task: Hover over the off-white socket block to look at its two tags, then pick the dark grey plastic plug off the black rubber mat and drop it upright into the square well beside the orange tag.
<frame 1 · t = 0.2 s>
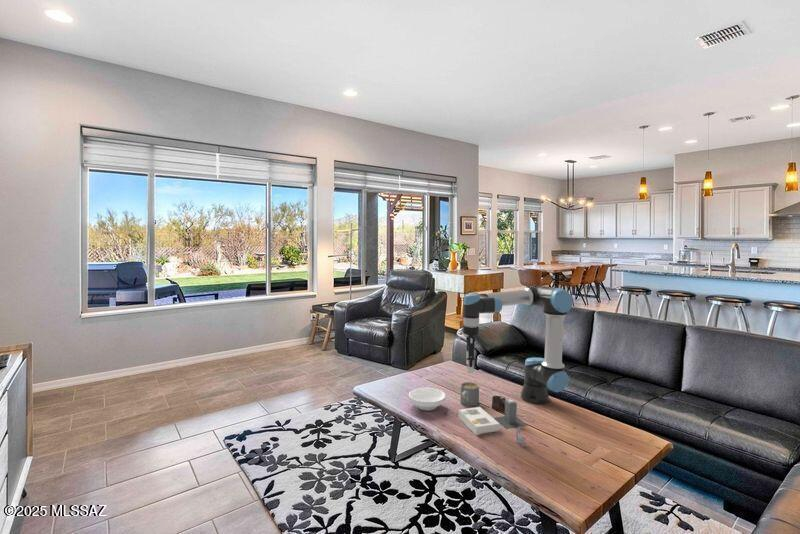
hand: (469, 368, 194), 27 cm above the table, fingers open, 13 cm apart
bowl: (426, 407, 212), on the table
socket block: (478, 424, 193), on the table
plug: (510, 421, 195), point 1 cm above the table, touching mat
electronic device: (501, 411, 208), on the table
architectural model: (530, 443, 177), on the table
coffee mug: (467, 404, 216), on the table
mat: (510, 422, 195), on the table
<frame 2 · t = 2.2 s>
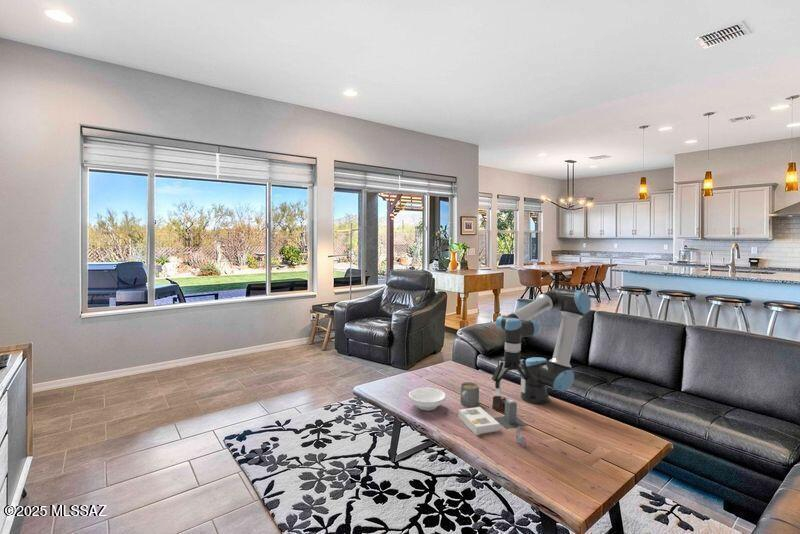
hand: (510, 393, 193), 15 cm above the table, fingers open, 13 cm apart
nothing on the table moved.
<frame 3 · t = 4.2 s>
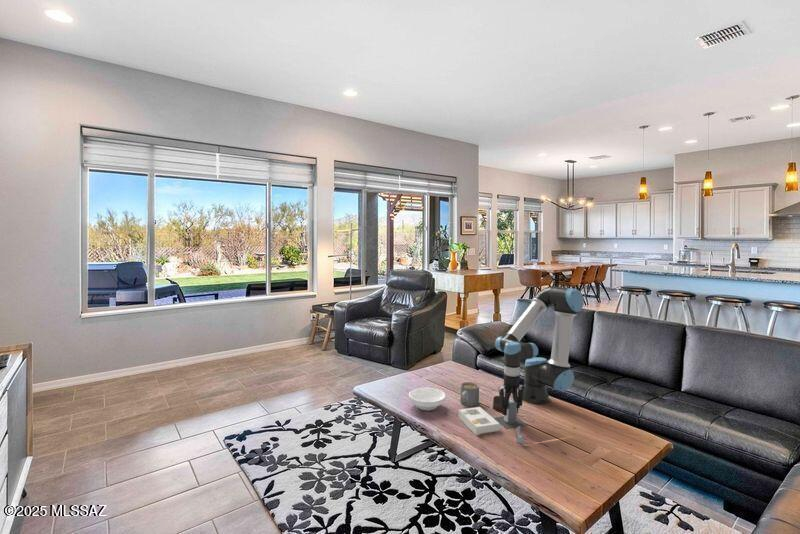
hand: (510, 420, 195), 1 cm above the table, fingers closed on plug, 4 cm apart
plug: (510, 421, 195), point 1 cm above the table, touching gripper
everything else where it was.
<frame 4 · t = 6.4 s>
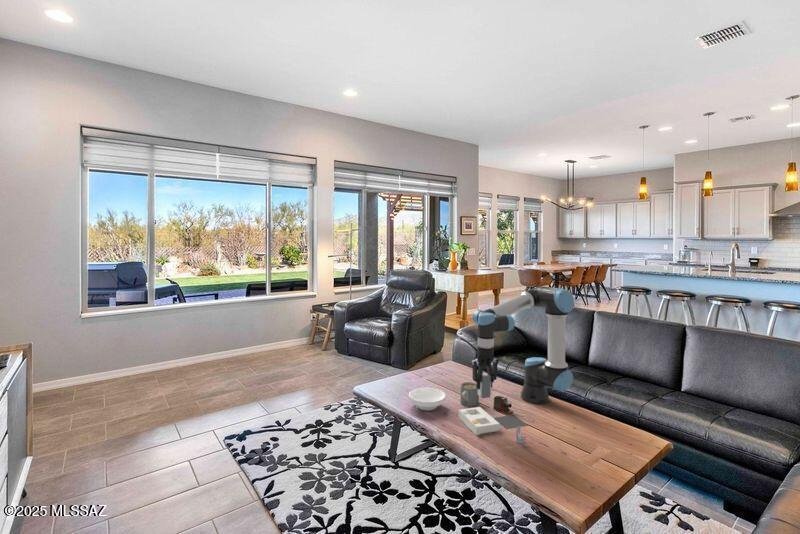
hand: (484, 394, 187), 17 cm above the table, fingers closed on plug, 4 cm apart
plug: (484, 396, 187), point 16 cm above the table, touching gripper
everything else where it was.
when the fingers open (5 cm above the table, at t = 8.8 s): plug drops 4 cm, resting on socket block.
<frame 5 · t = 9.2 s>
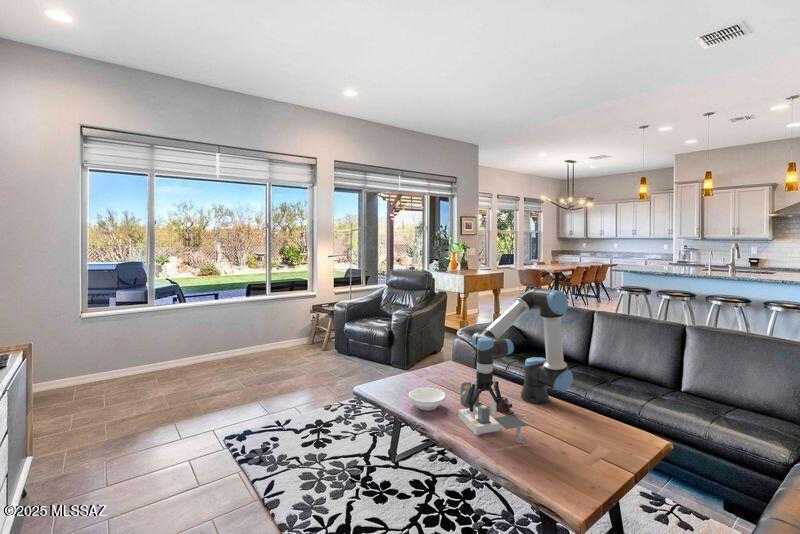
hand: (483, 416, 188), 6 cm above the table, fingers open, 10 cm apart
plug: (483, 428, 188), resting on socket block
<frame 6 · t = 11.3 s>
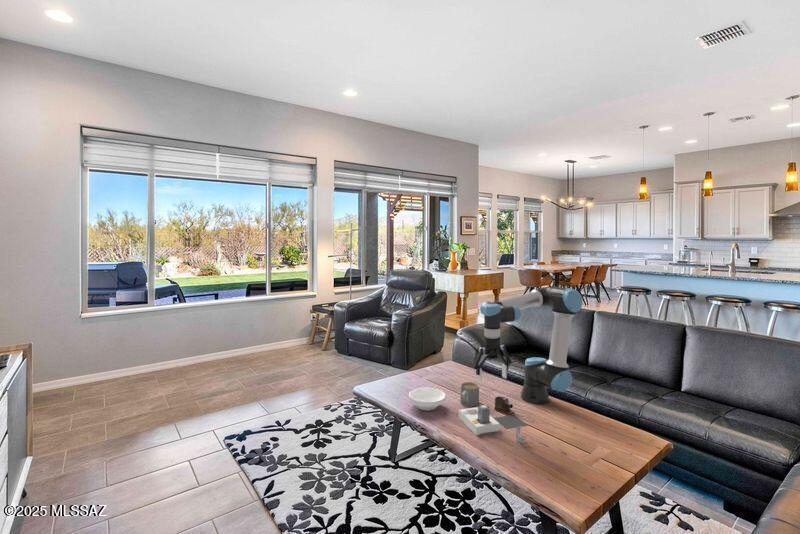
hand: (492, 379, 192), 22 cm above the table, fingers open, 13 cm apart
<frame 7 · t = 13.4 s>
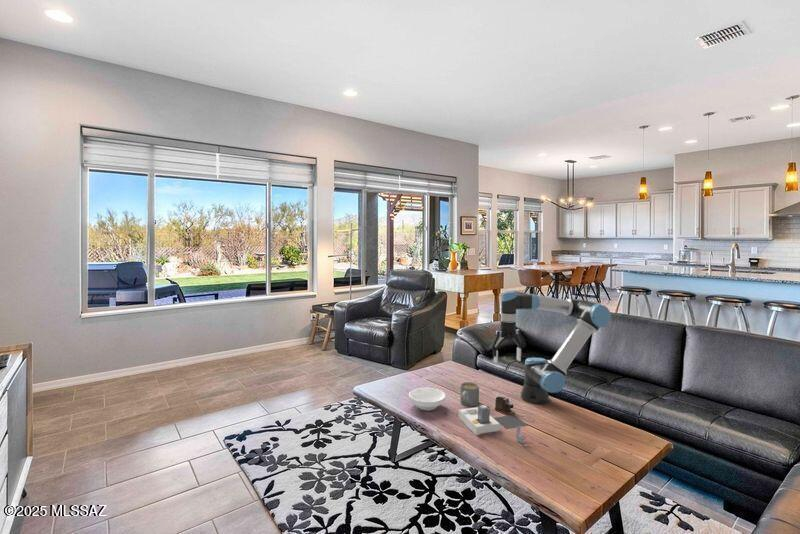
hand: (507, 361, 206), 27 cm above the table, fingers open, 13 cm apart
at the end: plug 0.0 cm from the target spot on the socket block, point 0.5 cm above the socket block's base; plug tilted 0°; the gripper is holding nothing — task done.
